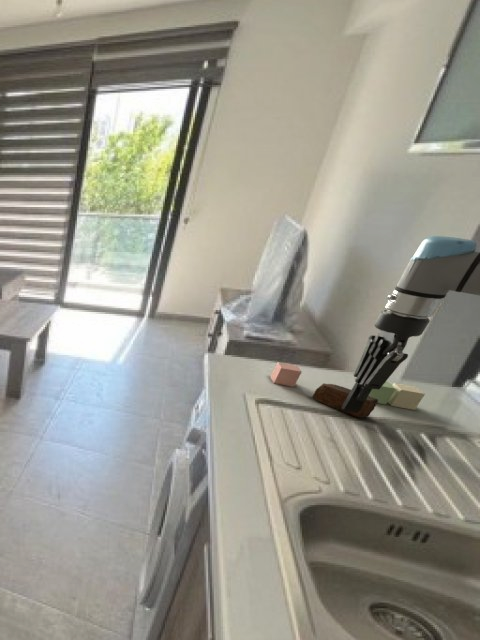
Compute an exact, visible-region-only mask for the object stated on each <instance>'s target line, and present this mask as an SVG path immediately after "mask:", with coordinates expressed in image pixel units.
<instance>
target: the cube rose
mask: <svg viewBox="0 0 480 640" xmlns="http://www.w3.org/2000/svg"><path fill="white" fill-rule="evenodd" d="M272 370H273V371H272V373H271V375H270V379H271V380H272V383H273V384H277V385H282V386H287V387H292V388H294V387H295V386H296V385H297V383H298V380H299V378H300V376H301V375H302V372H303V371H302V370H301V369H300V367H299V366H298V365H295V364H290V363H285V362H277V363H276V364H275V366H274V369H272Z"/></svg>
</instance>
